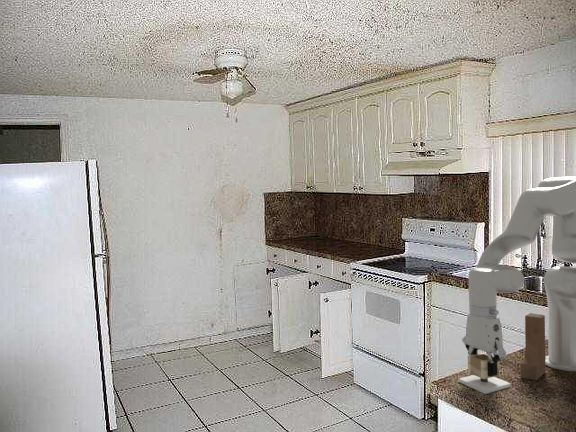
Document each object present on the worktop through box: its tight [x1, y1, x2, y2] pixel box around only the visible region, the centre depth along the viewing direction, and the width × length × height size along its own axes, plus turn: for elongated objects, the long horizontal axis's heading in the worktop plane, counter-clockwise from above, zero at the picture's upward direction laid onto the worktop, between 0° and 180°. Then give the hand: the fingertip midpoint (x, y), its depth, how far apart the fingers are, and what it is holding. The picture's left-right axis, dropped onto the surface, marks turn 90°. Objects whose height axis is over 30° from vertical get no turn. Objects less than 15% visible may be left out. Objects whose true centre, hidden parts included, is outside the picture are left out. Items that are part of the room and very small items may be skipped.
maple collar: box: [467, 352, 500, 379], centre depth 141 cm, size 6×6×5 cm
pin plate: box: [458, 374, 512, 395], centre depth 141 cm, size 10×10×6 cm
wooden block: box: [520, 312, 546, 382], centre depth 147 cm, size 9×4×18 cm, turn 136°
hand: (483, 371), depth 141 cm, fingers closed on maple collar, 6 cm apart
